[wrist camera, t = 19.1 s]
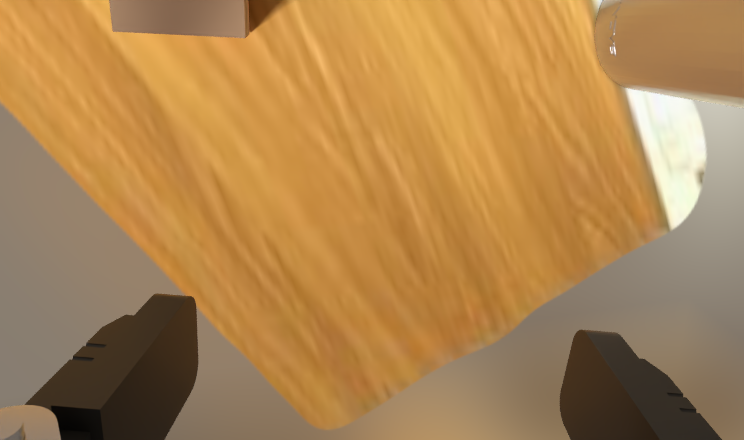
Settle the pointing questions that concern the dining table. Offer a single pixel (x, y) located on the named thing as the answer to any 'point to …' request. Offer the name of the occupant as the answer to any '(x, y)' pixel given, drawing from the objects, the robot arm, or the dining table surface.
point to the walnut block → (182, 17)
